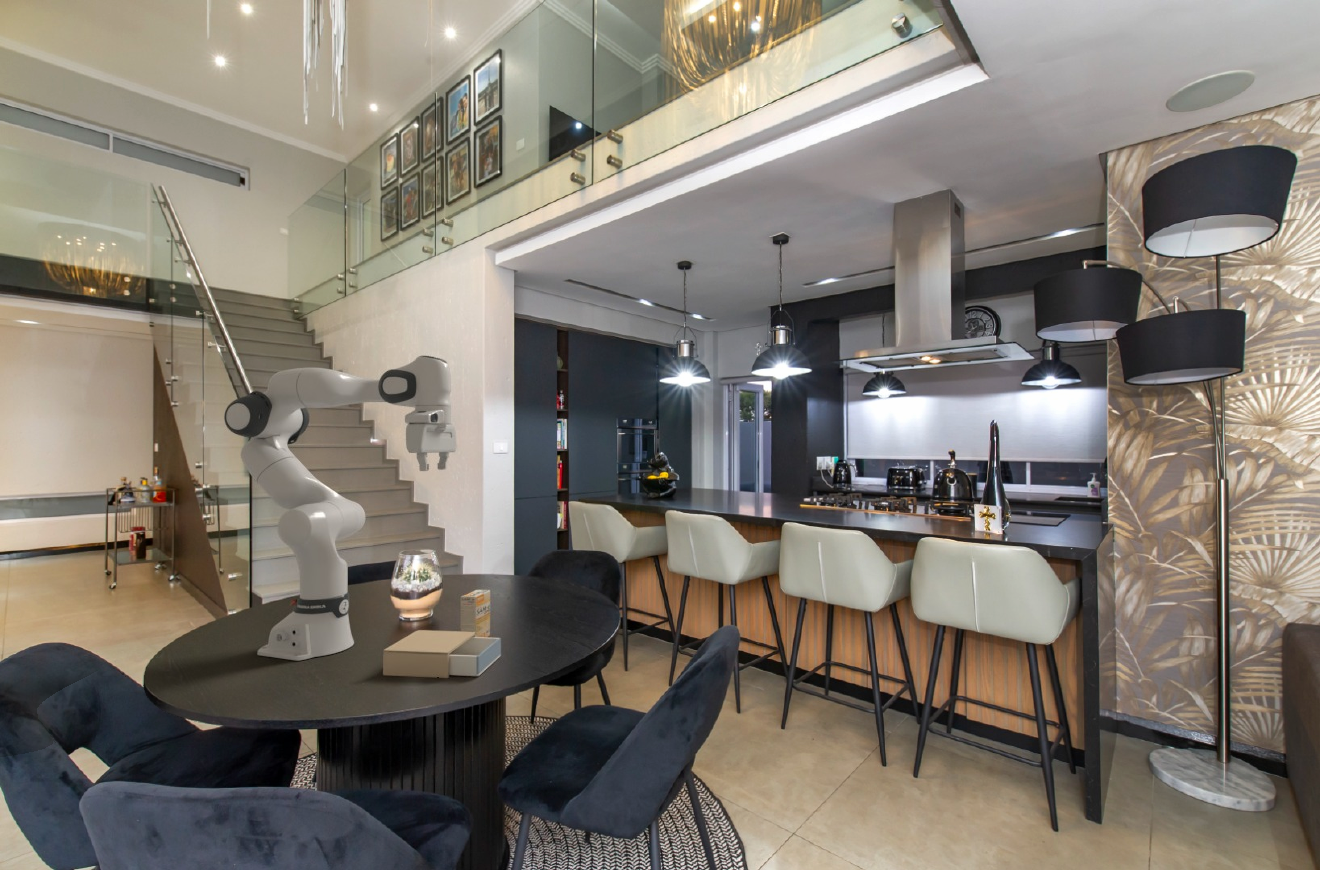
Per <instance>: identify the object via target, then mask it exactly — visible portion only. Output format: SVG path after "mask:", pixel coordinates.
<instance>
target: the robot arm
mask: <svg viewBox="0 0 1320 870" xmlns="http://www.w3.org/2000/svg"><path fill="white" fill-rule="evenodd" d="M451 391H452V378H451V371H450V366H449V363H448V362H447V361H446V360H445V359H443V358H439V357H435V356H431V355H419V356H417V357H416V358H415V359H414V360H413V361H411V362H410V363H407V364H405V365H403V366H400V367H396V368H393V369H388V370H386V371H385V372H384V373H383V374H382V375H381V376H380V378H379V379H373V378H372V379H371V378H365V377H361V376H358V375H353V374H350V373H346V372H343V371H339V370H335V369H330V368H324V367H297V368H291V369H285V370H281V371H278V372H276V373H274V374H273V375H272V376H271V377H270V378H269V380H268V383H267V389H266V391H264V392H262V391H259V390H254V391H252V392H250V393H248V394H247V395H245V396H241V397H238V398H237V399H234V400H232V401H231V402H230V403H229V404H228V405H227V407H226V408H225V411H224V416H223V417H224V418H223V419H224V424H225V426H226V427H227V430H229V431H230V432H231V433H233V434H235V435H237V436H241V437H244V438H250V439H249V441H247V442H246V443H245V444H244V445H243V447H242V448H241V451H240V459H241V460H242V463H243V465H244V466H245V468H246V470H247V471H248V473H249V474H250V476H251V477H252V479H254V481H255V482H257V484H258V486H260V488H261V489H262V490H263V491H264V493H266V494H267V496H269V498H270V499H272V501H273V503H275V504H276V505H278V506H279V507H281V508H284V509H287V511H285V512H284V513H283V514H282V515H281V516H280V517H279V520H278V523H277V528H276V529H277V535H278V537H279V538H280V540H281V541H282V542H283V543H284V544H285V545H286V546H288V547H289V548H290V549H291V550H292V552H293V554H294V556H295V558H296V561H297V565H298V570H299V572H298V573H299V596H298V597H296V598H295V599H293V600H291V601H289V602H290V604H289V606H294V607H293V609H292V611H291V612H290V613H289V614H288V615H287V616H286V617H284V618H283V619H282V620H280V621H279V622H278V623H277V624H275V625H273V627H272V628H271V630H270V633H269V636H268V643H267V644H264V645H263V646H261V647H260V648H259V649H257V656H261V657H262V656H263V657H269V658H270V657H271V658H277V659H282V660H283V659H284V660H291V661H303V660H307V659H311V658H315V657H323V656H328V655H329V656H330V655H332V654H333V655H334V654H336V653H339V652H342V651H345V650H347V649H349V648H351V647H353V645H354V644H355V640H354V637H353V635H352V631H351V625H350V618H349V610H350V591H349V590H348V582H349V581H348V574H349V573H348V569H349V568H348V563H347V561H346V560H345V559H343V558H342V557H340V555H339V553H338V550H337V547H336V541H340V540H343V539H348V538H349V537H351V536H353V535H355V534H357V533H358V532H359V531H360V530H361V529H362V528H363V527H364V525H365V523H366V518H367V517H366V512H365V510H364V508H363V507H362V506H361V504H359V503H358V502H356V501H354V500H350V499H348V498H345V497H344V496H342V495H341V494H339V493H338V492H336V491H334V490H333V489H332V488H331V487H329V486H327V485H326V484H324V483H323V482H322V481H320V480H319V479H318V478H316V476H314V475H313V474H312V472H311V471H309V469H308V468H307V467H306V466H305V465H304V464H303V463H302V462H301V461H300V460H299V459H298V458H297V457H296V456H295V454H294V453H293V452H292V451H291V450H290V448H289V446H288V445H292V444H294V443H296V442H297V441H298V439H299V437H300V436H302V435H303V433H305V431H306V430H307V429H308V427H309V424H310V414H309V411H308V410H307V409H326V408H328V409H329V408H334V407H339V406H340V407H341V406H348V405H355V404H365V403H388V404H390V405H392V406H393V405H394V406H398V407H399V406H401V407H407V408H408V407H409V408H414V409H413V410H412V411H411V412H408V413H407V414H405V416H404V422H405V424H407V425H406V428H405V446H406V447H405V448H406V449H407V452H408V453H409V454H416V459H417V462H418V465H419V466H418V467H419V471H420V472H428V471H429V469H430V468H429V467H430V464H429V463H428V460H427V458H428V453H429V454H431V453H435V454H436V453H438V457H439V460H438V462H437V470H439V471H443V470H446V469H447V462H448V459H449V457H450V456H449V454H450V453H456V450H457V435H456V429H455V426H453V423H452V403H451V401H450V398H451V397H450V395H451Z"/></svg>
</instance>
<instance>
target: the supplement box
mask: <svg viewBox="0 0 1320 870" xmlns="http://www.w3.org/2000/svg"><path fill="white" fill-rule="evenodd" d="M460 631H463V632H476V637H486V638H490V636H491V590H490V589H475V590H472V591H470V592H469V593H466V594H464V595H461V596H460Z"/></svg>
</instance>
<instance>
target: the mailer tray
mask: <svg viewBox="0 0 1320 870" xmlns="http://www.w3.org/2000/svg"><path fill="white" fill-rule="evenodd" d="M501 656H502V638H501V637H487V638H486V637H471V638H470V639H469V640H467V641H466V642H465V643H463V644H462V645H461V646H459V647H458V648H456V649H455V650H454V651H452V652H451V653H450V654H449V676H466V677H469V676H470V677H480V675H482V674H483V673H484V672H485V671H486V670H487V669H488V668H489V667H490V666H492V664H494V663H495V662H496V661H497V660H498V659H499V658H500V657H501Z"/></svg>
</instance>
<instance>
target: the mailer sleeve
mask: <svg viewBox="0 0 1320 870" xmlns="http://www.w3.org/2000/svg"><path fill="white" fill-rule="evenodd" d="M471 637H476V632H463V631H461V630H460V631H459V630H458V631H456V630H455V631H454V630H431V629H430V630H427V629H417V630H415V631H414V632H412V633H410V634H409V635H408V636H407V635H406V636H405V637H403V638H402V639H400V640H399V641H397V642H395V643H393V644H391V645H390V646H388V647H386V648H384V649H383V650H382V655H383V656H382V657H383V658H382V669H383V670H382V675H383V676H391V677H392V676H394V677H397V676H398V677H414V678H415V677H416V678H417V677H419V678H437V677H439V678H440V679H448V678H450V675H449V654H450V653H451V652H452V651H454V650H455V649H456V648H458V647H459V646H461V645H462V644H463V643H465V642H466V641H467V640H469V639H470V638H471ZM439 678H438V679H439Z"/></svg>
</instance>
